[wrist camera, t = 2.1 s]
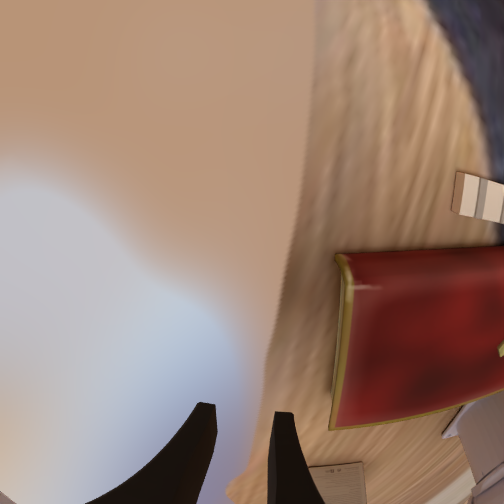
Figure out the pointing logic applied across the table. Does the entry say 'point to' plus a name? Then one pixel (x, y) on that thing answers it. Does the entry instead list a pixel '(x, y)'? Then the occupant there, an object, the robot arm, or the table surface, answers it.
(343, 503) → the small box
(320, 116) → the table surface
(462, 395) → the hardcover book
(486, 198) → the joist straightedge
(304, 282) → the table surface
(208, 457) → the robot arm
